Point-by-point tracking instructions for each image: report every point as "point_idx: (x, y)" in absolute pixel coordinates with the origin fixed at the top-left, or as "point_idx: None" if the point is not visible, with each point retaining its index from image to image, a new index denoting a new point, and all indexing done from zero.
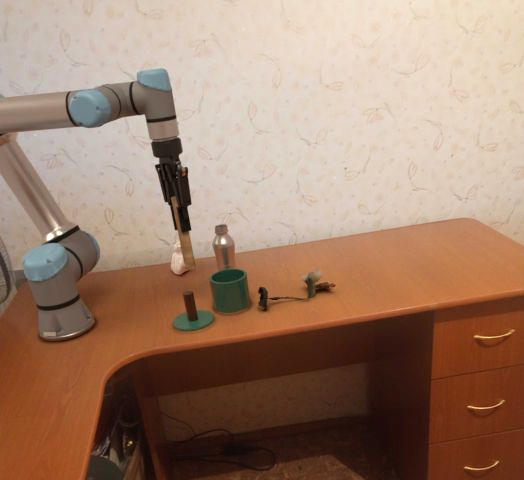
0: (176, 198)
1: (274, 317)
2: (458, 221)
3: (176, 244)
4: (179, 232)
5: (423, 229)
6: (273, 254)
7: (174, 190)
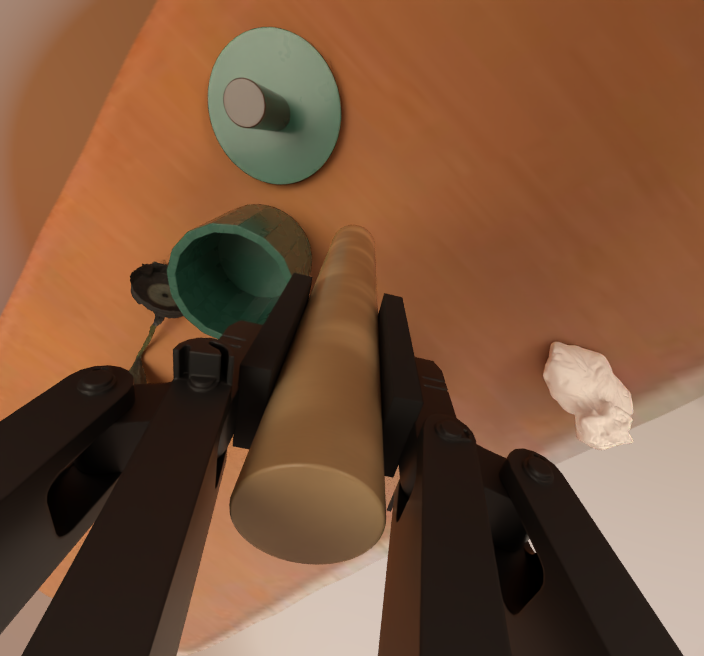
0: (200, 462)
1: (124, 255)
2: (187, 643)
3: (623, 426)
4: (340, 279)
5: (210, 618)
6: (388, 499)
7: (140, 605)
